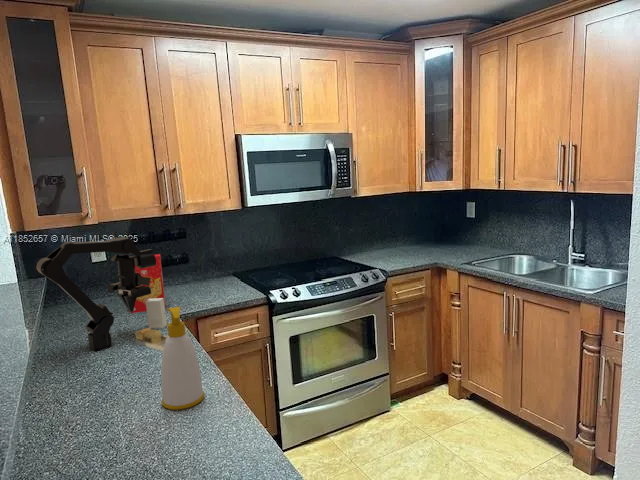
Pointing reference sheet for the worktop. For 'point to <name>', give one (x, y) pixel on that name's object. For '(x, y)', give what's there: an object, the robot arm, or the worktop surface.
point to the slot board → (152, 345)
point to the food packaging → (155, 285)
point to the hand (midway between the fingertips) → (131, 311)
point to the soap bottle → (180, 367)
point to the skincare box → (156, 313)
